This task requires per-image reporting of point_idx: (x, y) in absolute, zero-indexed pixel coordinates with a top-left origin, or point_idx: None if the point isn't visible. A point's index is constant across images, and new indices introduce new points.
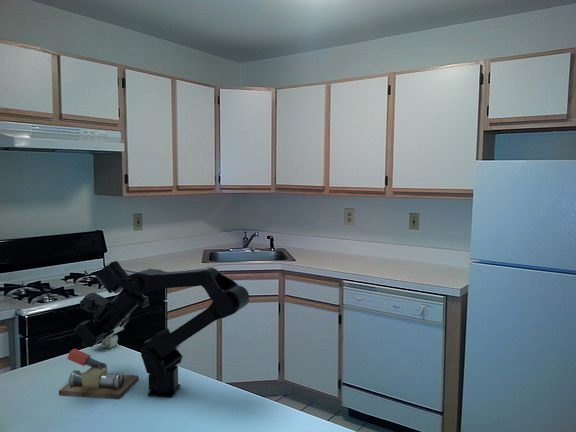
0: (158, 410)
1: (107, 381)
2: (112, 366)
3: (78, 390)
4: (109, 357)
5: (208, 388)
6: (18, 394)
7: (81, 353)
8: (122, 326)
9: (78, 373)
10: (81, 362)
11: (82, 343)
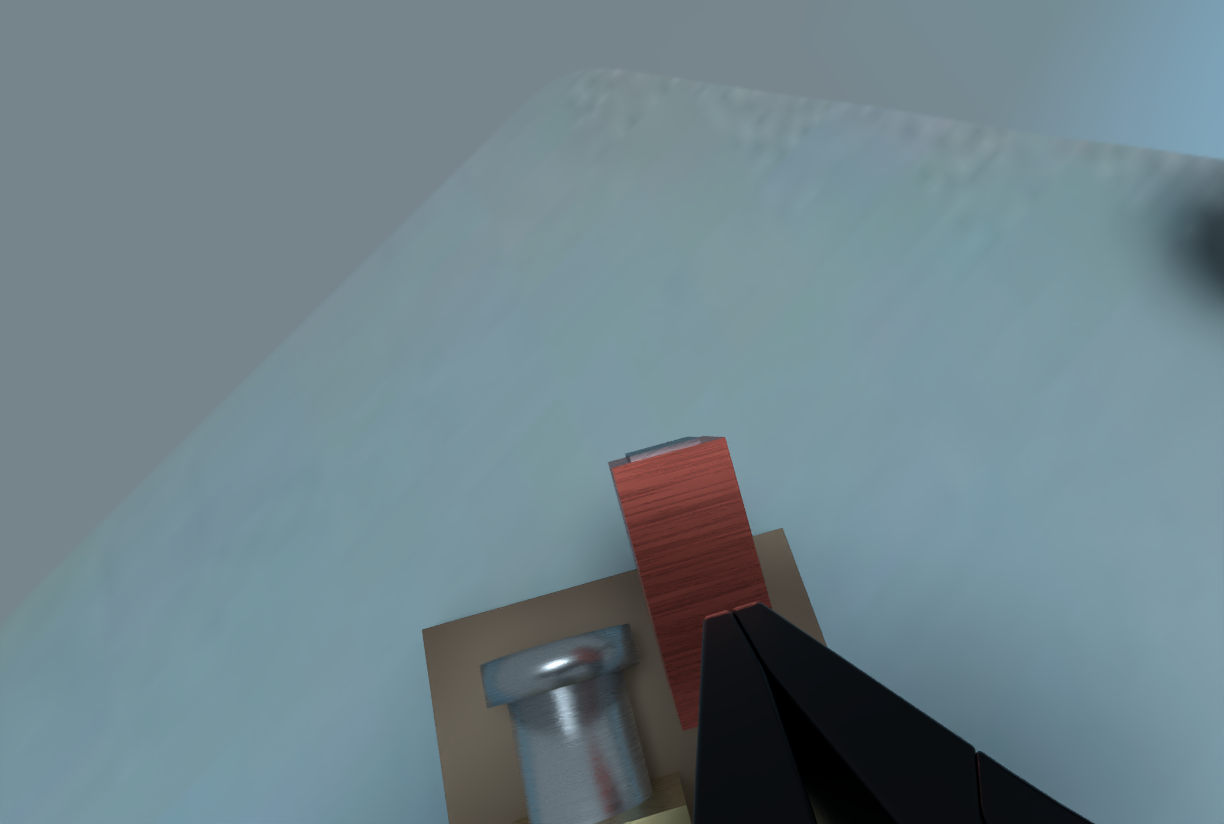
0: None
1: None
2: (1069, 617)
3: (472, 812)
4: (1177, 433)
5: None
6: (367, 353)
7: (719, 587)
8: None
9: (554, 717)
10: (659, 651)
11: (704, 647)
